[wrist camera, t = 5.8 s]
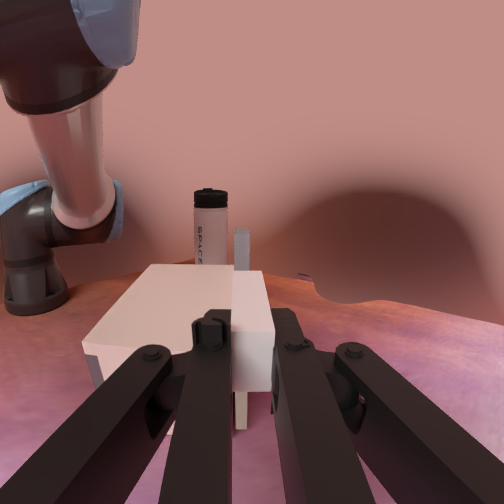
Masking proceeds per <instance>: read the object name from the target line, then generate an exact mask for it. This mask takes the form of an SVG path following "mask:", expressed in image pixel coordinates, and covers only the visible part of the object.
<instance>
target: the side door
mask: <svg viewBox="0 0 504 504" xmlns="http://www.w3.org/2000/svg"><path fill="white" fill-rule="evenodd" d="M249 258H250V232H249V229H235V232H234V271H249V260H250V259H249ZM235 407H236V429H247V392H235Z"/></svg>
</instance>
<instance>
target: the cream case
mask: <svg viewBox="0 0 504 504" xmlns="http://www.w3.org/2000/svg"><path fill="white" fill-rule="evenodd" d="M233 274H234V265H194V264H151V265H150V266H149V267H148V268H147V269H146V270H145V271H144V272H143V273H142V274H141V275H140V277H139V278H138V279H137V280H136V281H135V282H134V283H133V284H132V285H131V286H130V287H129V288H128V290H127V291H126V292H125V293H124V294H123V295H122V296H121V297H120V298H119V299H118V301H117V302H116V303H115V304H114V305H113V306H112V307H111V308H110V309H109V311H108V312H107V313H106V314H105V315H104V316H103V317H102V319H101V320H100V321H99V322H98V323H97V324H96V325H95V327H94V328H93V329H92V330H91V331H90V332H89V334H88V335H87V336H86V337H85V338H84V339H83V341H82V345H83V349H84V352H85V356H86V359H87V363H88V366H89V369H90V373H91V376H92V379H93V382H94V385H95V388H96V389H97V388H98V387H99V386H100V385H101V384H102V383H103V382H104V381H105V380H106V379H107V378H108V377H109V376H110V375H111V374H112V373H113V372H114V371H115V370H116V369H117V368H118V367H119V366H120V365H121V364H122V363H123V362H124V361H125V360H126V359H127V358H128V357H129V356H130V355H131V354H132V353H133V352H134V351H135V350H137V349H138V348H140V347H142V346H145V345H149V344H150V345H151V344H157V345H162V346H165V347H167V348H168V349H169V350H170V352H171V355H173V354H180V353H185V352H188V351H190V350H192V347H193V339H192V327H191V324H192V323H193V321H195V320H196V319H198V318H202V317H204V314H205V313H206V312H207V311H209V310H210V309H232V291H233ZM232 418H233V392H232ZM174 424H175V421H174V423H173V424H172V426H171V428H170V429H169V431H168V433H167V434H166V435H172V433H173V428H174Z"/></svg>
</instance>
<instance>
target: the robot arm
mask: <svg viewBox="0 0 504 504" xmlns="http://www.w3.org/2000/svg"><path fill="white" fill-rule="evenodd" d="M140 4H141V0H0V84H1V86H2V89H3V92H4V95H5V98H6V101H7V103H8V105H9V107H11V109H12V110H13V111H15V112H16V113H18V114H21V115H23V116H27V119H28V122H29V125H30V129H31V132H32V134H33V137H34V141H35V144H36V147H37V149H38V152H39V155H40V158H41V160H42V163H43V165H44V168H45V171H46V173H47V176H48V178H49V181H50V183H51V185H52V187H49V186H50V183H49V181H48V180H41V181H36V182H32V183H28V184H24V185H21V186H18V187H15V188H12V189H9V190H6V191H4V192H2V193H1V194H0V243H1V250H2V256H3V261H4V267H5V275H4V292H3V299H4V303H5V307H6V310H7V311H8V312H9V313H11V314H14V315H34V314H39V313H43V312H47V311H49V310H52V309H54V308H56V307H58V306H60V305H61V304H63V303H64V302H65V301H66V300H67V299H68V296H69V293H68V288H67V284H66V282H65V280H64V278H63V276H62V273H61V271H60V269H59V267H58V265H57V263H56V260H55V256H54V247H63V246H72V245H83V244H93V243H107V242H111V241H115V240H117V239H118V238H119V237H120V235H121V232H122V226H123V223H122V222H123V221H122V219H123V189H122V185H121V183H120V182H119V181H114V180H111V178H110V177H109V176H108V175H107V174H106V173H105V170H104V169H105V168H104V155H103V131H102V92H103V91H105V90H106V88H108V86H109V85H110V84H111V83H112V81H113V80H114V78H115V76H116V74H117V72H118V69H119V68H121V67H122V66H127V65H130V64H131V63H132V62H133V61H134V59H135V56H136V55H135V54H136V49H137V38H138V27H139V11H140ZM191 327H192V339H193V347H192V350H190V351H188V352H185V353H180V354H173V355H171V352H170V350H169V349H168V348H167V347H165V346H162V345H157V344H151V345H150V344H149V345H145V346H142V347H140V348H138V349H137V350H135V351H134V352H133V353H132V354H131V355H130V356H129V357H128V358H127V359H126V360H125V361H124V362H123V363H122V364H121V365H120V366H119V367H118V368H117V369H116V370H115V371H114V372H113V373H112V374H111V375H110V376H109V377H108V378H107V379H106V380H105V381H104V382H103V383H102V384H101V385H100V386H99V387H98V388H97V389H96V390H95V391H94V392H93V393H92V394H91V395H90V396H89V397H88V398H87V399H86V401H85V402H84V403H83V404H82V405H81V406H80V407H79V408H78V409H77V410H76V411H75V412H74V413H73V414H72V415H71V416H70V417H69V418H68V419H67V420H66V421H65V422H64V423H63V424H62V425H61V426H60V427H59V428H58V429H57V430H56V431H55V432H54V433H53V434H52V435H51V436H50V437H49V438H48V439H47V440H46V441H45V442H44V443H43V444H42V445H41V447H40V448H39V449H38V450H37V451H36V452H35V453H34V454H33V455H32V456H31V457H30V458H29V459H28V460H27V461H26V462H25V463H24V464H23V465H22V466H21V467H20V468H19V469H18V470H17V471H16V473H15V474H14V475H13V476H12V477H11V478H10V479H9V480H8V481H7V482H6V483H5V484H4V485H3V486H2V487H1V488H0V504H124V503H125V501H126V500H127V498H128V496H129V495H130V493H131V492H132V490H133V488H134V487H135V485H136V483H137V482H138V480H139V479H140V477H141V475H142V474H143V472H144V470H145V469H146V467H147V466H148V464H149V462H150V461H151V459H152V457H153V456H154V454H155V452H156V451H157V449H158V447H159V446H160V444H161V442H162V441H163V439H164V438H165V436H166V434H167V433H168V431H169V429H170V428H171V426H172V424H173V423H174V421H175V424H174V428H173V433H172V437H171V442H170V447H169V452H168V456H167V461H166V466H165V471H164V476H163V481H162V486H161V491H160V496H159V502H158V504H232V392H271V387H272V388H273V393H272V405H271V414H274V419H275V426H276V433H277V440H278V448H279V455H280V462H281V469H282V476H283V483H284V491H285V498H286V504H376V503H375V500H374V497H373V495H372V492H371V489H370V487H369V484H368V481H367V479H366V476H365V473H364V471H363V468H362V465H361V463H360V460H359V458H358V455H357V453H358V454H359V456H360V457H361V458H362V460H363V461H364V462H365V463H366V465H367V466H368V467H369V469H370V470H371V471H372V473H373V474H374V475H375V476H376V478H377V479H378V480H379V482H380V483H381V484H382V485H383V487H384V488H385V489H386V490H387V492H388V493H389V494H390V496H391V497H392V498H393V499H394V501H395V502H396V503H397V504H504V463H503V462H501V461H500V460H499V459H498V458H497V457H496V456H494V455H493V454H492V453H491V452H490V451H489V450H488V449H486V448H485V447H484V446H483V445H482V444H481V443H479V442H478V441H477V440H476V439H475V438H474V437H472V436H471V435H470V434H469V433H468V432H467V431H466V430H464V429H463V428H462V427H461V426H460V425H459V424H457V423H456V422H455V421H454V420H453V419H452V418H450V417H449V416H448V415H447V414H446V413H445V412H443V411H442V410H441V409H440V408H439V407H438V406H436V405H435V404H434V403H433V402H432V401H431V400H429V399H428V398H427V397H426V396H425V395H424V394H422V393H421V392H420V391H419V390H418V389H417V388H415V387H414V386H413V385H412V384H411V383H410V382H408V381H407V380H406V379H405V378H404V377H403V376H401V375H400V374H399V373H398V372H397V371H396V370H394V369H393V368H392V367H391V366H390V365H389V364H387V363H386V362H385V361H384V360H383V359H382V358H380V357H379V356H378V355H377V354H376V353H375V352H373V351H372V350H371V349H370V348H369V347H367V346H365V345H363V344H360V343H357V342H347V343H343V344H340V345H339V346H338V347H337V348H336V352H335V353H331V352H324V351H319V350H316V349H315V347H314V345H313V343H312V342H311V341H310V340H308V339H307V338H304V336H303V333H302V330H301V328H300V325H299V323H298V320H297V317H296V315H295V313H294V312H293V311H291V310H290V309H289V308H271V309H270V306H269V301H268V297H267V292H266V288H265V283H264V279H263V275H262V271H234V274H233V291H232V309H210V310H209V311H207V312H206V313H205V314H204V317H202V318H198V319H196V320H195V321H193V323H192V324H191ZM361 396H362V397H363V398H364V400H363V398H362V397H361Z"/></svg>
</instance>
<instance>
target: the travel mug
mask: <svg viewBox="0 0 504 504" xmlns="http://www.w3.org/2000/svg"><path fill="white" fill-rule="evenodd" d="M227 197H228V193H227V192H226V191H222V190H212V188H204V189H203V190H197V191H195V192H194V202H195V204H194V210H195V211H194V246H195V265H228V211H227V209H228V207H227V201H228V198H227Z"/></svg>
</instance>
